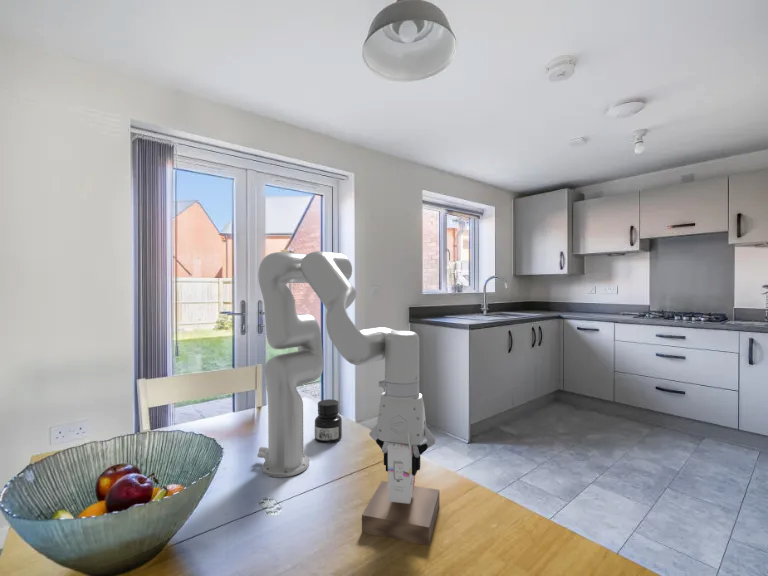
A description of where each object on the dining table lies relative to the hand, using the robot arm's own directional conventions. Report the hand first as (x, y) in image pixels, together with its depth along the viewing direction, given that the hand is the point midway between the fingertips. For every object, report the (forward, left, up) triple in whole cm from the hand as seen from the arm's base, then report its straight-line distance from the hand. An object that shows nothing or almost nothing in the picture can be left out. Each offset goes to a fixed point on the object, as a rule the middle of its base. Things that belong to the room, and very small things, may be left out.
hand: (401, 469), depth 82 cm
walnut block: (0, 0, -11) cm, 11 cm away
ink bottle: (-34, +34, -11) cm, 49 cm away
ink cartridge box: (0, 0, -5) cm, 5 cm away
